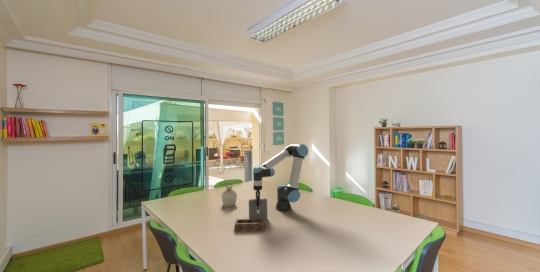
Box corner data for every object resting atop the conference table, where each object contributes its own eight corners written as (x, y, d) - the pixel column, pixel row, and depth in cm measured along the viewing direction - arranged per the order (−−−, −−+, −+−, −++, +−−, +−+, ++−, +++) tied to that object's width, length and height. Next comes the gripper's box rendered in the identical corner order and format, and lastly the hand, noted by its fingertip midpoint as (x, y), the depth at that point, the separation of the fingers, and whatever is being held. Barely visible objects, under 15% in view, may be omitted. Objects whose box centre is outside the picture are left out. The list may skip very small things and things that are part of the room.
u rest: (265, 224, 189) (265, 218, 189) (265, 231, 177) (265, 223, 177) (235, 225, 188) (235, 218, 188) (233, 231, 176) (233, 224, 176)
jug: (233, 207, 233) (233, 182, 232) (219, 207, 236) (218, 182, 235) (238, 203, 248) (238, 179, 247) (225, 202, 251) (224, 179, 250)
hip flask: (267, 218, 203) (266, 195, 203) (267, 219, 199) (267, 196, 199) (248, 219, 200) (248, 196, 200) (249, 221, 196) (248, 197, 196)
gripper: (253, 182, 208) (254, 208, 209) (252, 187, 189) (253, 215, 190) (262, 182, 209) (262, 208, 209) (262, 187, 190) (262, 215, 190)
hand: (258, 211), depth 199 cm, fingers open, 6 cm apart
